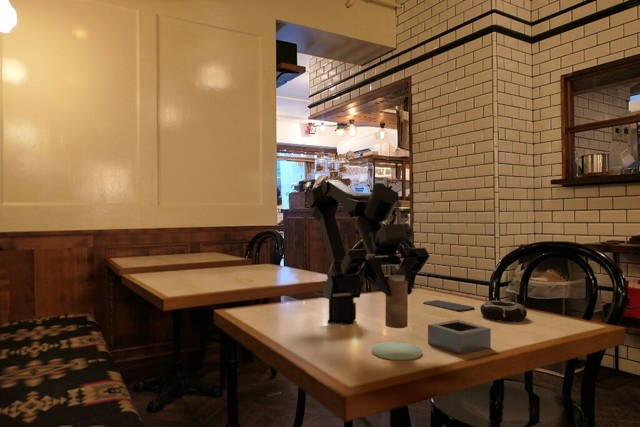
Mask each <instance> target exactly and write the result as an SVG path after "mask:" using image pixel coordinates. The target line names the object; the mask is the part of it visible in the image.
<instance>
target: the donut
mask: <svg viewBox="0 0 640 427" xmlns="http://www.w3.org/2000/svg"><path fill="white" fill-rule="evenodd" d="M480 313H481V315H482V316H483V317H485V318H487V319H488V318H489V319H488V320H492V319H493V320H492V321H497V320H498V322H505V321H508V323H513V321H516V322H520V321H523V320H525V318H526V317H527V314H528V310H527V309H526V307H525V306H524V305H522V304H521V303H518V302H514V301H507V300H489V301H485V302H483V303H482V304H481V305H480Z"/></svg>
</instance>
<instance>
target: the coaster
mask: <svg viewBox="0 0 640 427" xmlns="http://www.w3.org/2000/svg"><path fill="white" fill-rule="evenodd" d="M371 354H373V355H374V356H376V357H378V358H381V359H385V360H391V361H411V360H416V359H419V358H421V356H422V355H423V350H422V348H420V347H419V346H417V345H415V344H413V343H412V344H411V343H408V342H407V343H406V342H400V341H399V342H397V341H388V342H387V341H386V342H379V343H376V344H373V345H372V347H371Z"/></svg>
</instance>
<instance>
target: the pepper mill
mask: <svg viewBox="0 0 640 427" xmlns="http://www.w3.org/2000/svg"><path fill="white" fill-rule="evenodd" d="M386 280H387V282H388V285H389V287H390V291H391V294H390V296H387V295H386V294H385V322H384V323H385V326H386V327H388V328H390V329H391V328H392V329H405V328H407V327H409V326H408V324H409V323H408V317H409V316H408V314H409V313H408V301H409V299H408V281H406V280H405V276H403V275H395V274H390V275H388V279H386Z"/></svg>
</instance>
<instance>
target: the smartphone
mask: <svg viewBox="0 0 640 427" xmlns="http://www.w3.org/2000/svg"><path fill="white" fill-rule="evenodd" d="M422 304H423V305H427V306H432V307H436V308H441V309H445V310H449V311H452V312H453V311H454V312H460V313H462V312H468V311H473V310H475V307H474V306H471V305H468V304H467V305H465V304H461V303H456V302H449V301H445V300H439V299H436V300H434V299H433V300H427V301H423V302H422Z"/></svg>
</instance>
